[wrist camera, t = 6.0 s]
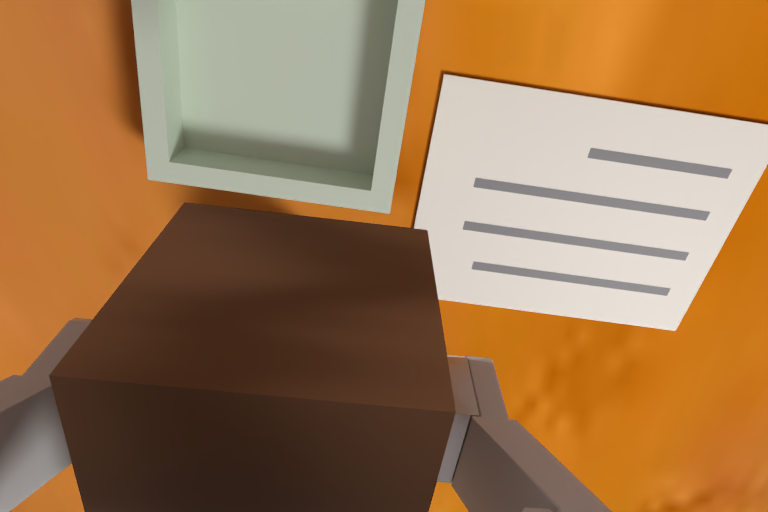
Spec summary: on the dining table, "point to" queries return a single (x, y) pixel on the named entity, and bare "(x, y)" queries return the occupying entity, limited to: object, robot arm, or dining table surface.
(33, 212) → the dining table surface
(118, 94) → the dining table surface
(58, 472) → the robot arm
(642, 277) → the letter
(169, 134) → the tray
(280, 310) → the walnut block
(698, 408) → the dining table surface
